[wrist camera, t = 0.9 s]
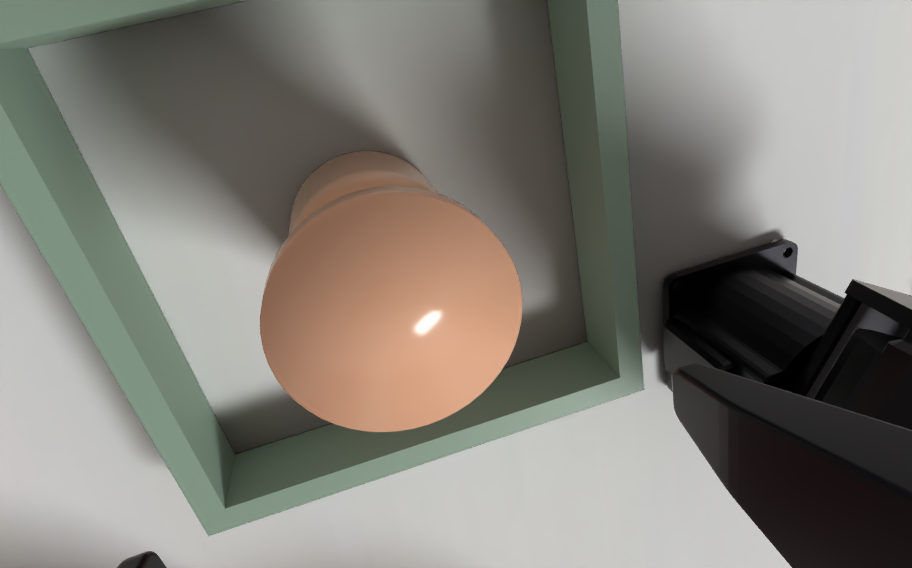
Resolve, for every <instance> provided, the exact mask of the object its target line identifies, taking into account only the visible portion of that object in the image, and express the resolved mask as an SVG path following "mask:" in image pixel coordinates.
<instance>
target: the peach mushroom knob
mask: <svg viewBox="0 0 912 568" xmlns="http://www.w3.org/2000/svg"><path fill="white" fill-rule="evenodd" d="M522 303H523V302H522V292H521V285H520V281H519V277H518V273H517V271H516V268H515V266H514V264H513V261H512V259H511V257H510V256H509V254H508V252H507V250H506V249H505V247H504V246H503V244H502V243H501V242H500V241H499V240H498V238H497V237H496V236H495V235H494V233H493V232H492V231H491V230H490V229H489V228H488V227H487V226H486V225H485V224H484V223H483V222H482V221H481V220H480V219H479V218H478V217H477V216H476V215H475V214H473V213H472V212H471V211H470V210H468V209H467V208H465V207H464V206H462V205H461V204H460V203H458V202H456V201H454V200H452V199H450V198H448V197H446V196H444V195H441V194H438V192H437V191H436V190H435V189H434V188H433V186H432V185H431V184H430V183H429V181H428V180H427V179H426V178H425V177H424V176H423V174H422V173H421V172H419V171H418V170H417V169H416V168H415V167H414V166H412V165H411V164H409V163H408V162H406V161H404V160H402V159H400V158H398V157H396V156H393V155H390V154H387V153H382V152H376V151H357V152H351V153H346V154H343V155H340V156H337V157H335V158H333V159H331V160H329V161H327V162H326V163H324V164H323V165H321V166H320V167H318V168H317V169H316V170H315V171H314V172H313V173H312V174H311V175H310V176H309V177H308V178H307V179H306V180H305V182H304V183H303V185H302V186H301V188H300V189H299V191H298V193H297V196H296V198H295V200H294V204H293V207H292V212H291V219H290V227H289V235H288V237H287V238H286V240H285V241H284V243H283V244H282V246H281V247H280V249H279V251H278V252H277V254H276V256H275V258H274V261H273V263H272V265H271V267H270V270H269V273H268V277H267V280H266V284H265V289H264V294H263V300H262V307H261V314H260V334H261V339H262V345H263V350H264V353H265V356H266V359H267V361H268V364H269V366H270V368H271V370H272V372H273V374H274V376H275V378H276V379H277V380H278V382H279V383H280V384H281V386H282V387H283V389H284V390H285V391H286V392H287V393H288V394H289V395H290V396H291V397H292V398H293V399H294V400H295V401H296V402H297V403H298V404H300V405H301V406H302V407H304V408H305V409H306V410H308V411H309V412H311V413H313V414H314V415H316V416H318V417H320V418H321V419H324V420H326V421H328V422H331V423H333V424H336V425H339V426H342V427H346V428H349V429H355V430H361V431H368V432H394V431H402V430H409V429H414V428H418V427H421V426H425V425H428V424H431V423H434V422H436V421H439V420H441V419H444V418H446V417H448V416H449V415H451V414H453V413H455V412H457V411H459V410H460V409H462V408H463V407H465V406H466V405H468V404H469V403H471V402H472V401H473V400H474V399H476V398H477V397H478V396H479V395H480V394H482V393H483V392H484V390H485V389H486V388H487V387H488V386H489V385H490V384H491V383H492V382H493V381H494V380H495V378H496V377H497V376H498V375H499V373H500V372H501V371H502V369H503V367H504V366H505V364H506V362H507V361H508V359H509V357H510V355H511V353H512V351H513V348H514V346H515V344H516V340H517V337H518V334H519V331H520V325H521V319H522Z"/></svg>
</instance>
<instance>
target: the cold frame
mask: <svg viewBox="0 0 912 568" xmlns="http://www.w3.org/2000/svg"><path fill="white" fill-rule="evenodd" d="M241 1H245V0H0V184H1V186H2V188H3V189H4V191H5V193H6V194H7V196H8V198H9V199H10V201H11V203H12V205H13V206H14V208H15V210H16V211H17V213H18V215H19V216H20V218H21V220H22V221H23V223H24V225H25V227H26V228H27V230H28V232H29V233H30V235H31V237H32V238H33V240H34V242H35V243H36V245H37V247H38V249H39V250H40V252H41V254H42V255H43V257H44V259H45V260H46V262H47V264H48V265H49V267H50V269H51V271H52V272H53V274H54V276H55V277H56V279H57V281H58V282H59V284H60V286H61V287H62V289H63V291H64V293H65V294H66V296H67V298H68V299H69V301H70V303H71V304H72V306H73V308H74V309H75V311H76V313H77V315H78V316H79V318H80V320H81V321H82V323H83V325H84V326H85V328H86V330H87V331H88V333H89V335H90V337H91V338H92V340H93V342H94V343H95V345H96V347H97V348H98V350H99V352H100V353H101V355H102V357H103V359H104V360H105V362H106V364H107V365H108V367H109V369H110V370H111V372H112V374H113V375H114V377H115V379H116V381H117V382H118V384H119V386H120V387H121V389H122V391H123V392H124V394H125V396H126V397H127V399H128V401H129V402H130V404H131V406H132V408H133V409H134V411H135V413H136V414H137V416H138V418H139V419H140V421H141V423H142V424H143V426H144V428H145V430H146V431H147V433H148V435H149V436H150V438H151V440H152V441H153V443H154V445H155V446H156V448H157V450H158V452H159V453H160V455H161V457H162V458H163V460H164V462H165V463H166V465H167V467H168V468H169V470H170V472H171V474H172V475H173V477H174V479H175V480H176V482H177V484H178V485H179V487H180V489H181V490H182V492H183V494H184V496H185V497H186V499H187V501H188V502H189V504H190V506H191V507H192V509H193V511H194V512H195V514H196V516H197V518H198V519H199V521H200V523H201V524H202V526H203V528H204V529H205V531H206V533H207V534H208V536H210V535H213V534H216V533H219V532H222V531H225V530H228V529H231V528H234V527H237V526H240V525H243V524H246V523H249V522H252V521H255V520H258V519H261V518H264V517H267V516H270V515H273V514H276V513H279V512H282V511H285V510H288V509H291V508H294V507H297V506H300V505H303V504H306V503H309V502H311V501H314V500H317V499H320V498H323V497H326V496H329V495H332V494H335V493H338V492H341V491H344V490H347V489H350V488H353V487H356V486H359V485H362V484H365V483H368V482H371V481H374V480H377V479H380V478H383V477H386V476H389V475H392V474H395V473H398V472H401V471H404V470H407V469H410V468H413V467H415V466H418V465H421V464H424V463H427V462H430V461H433V460H436V459H439V458H442V457H445V456H448V455H451V454H454V453H457V452H460V451H463V450H466V449H469V448H472V447H475V446H478V445H481V444H484V443H487V442H490V441H493V440H496V439H499V438H502V437H505V436H508V435H511V434H514V433H517V432H520V431H522V430H525V429H528V428H531V427H534V426H537V425H540V424H543V423H546V422H549V421H552V420H555V419H558V418H561V417H564V416H567V415H570V414H573V413H576V412H579V411H582V410H585V409H588V408H591V407H594V406H597V405H600V404H603V403H606V402H609V401H612V400H615V399H618V398H621V397H624V396H626V395H629V394H632V393H635V392H638V391H641V390H644V383H643V368H642V353H641V338H640V323H639V308H638V293H637V278H636V264H635V249H634V234H633V219H632V204H631V189H630V174H629V159H628V144H627V130H626V115H625V100H624V85H623V70H622V55H621V40H620V25H619V10H618V0H547V4H548V12H549V21H550V29H551V38H552V46H553V55H554V63H555V72H556V80H557V89H558V97H559V106H560V114H561V122H562V131H563V139H564V148H565V156H566V165H567V173H568V182H569V190H570V199H571V207H572V215H573V224H574V232H575V241H576V249H577V258H578V266H579V275H580V283H581V292H582V300H583V309H584V317H585V325H586V334H587V342H585V343H582V344H579V345H576V346H573V347H570V348H567V349H563V350H560V351H557V352H554V353H551V354H548V355H545V356H542V357H538V358H535V359H532V360H529V361H526V362H523V363H520V364H517V365H513V366H510V367H507V368H504V369H502V371H501V372H500V373H499V375H498V376H497V377H496V378H495V380H494V381H493V382H492V383H491V384H490V385H489V386H488V387H487V388H486V389H485V390H484V392H483V393H482V394H480V395H479V396H478V397H477V398H476V399H474V400H473V401H472V402H471V403H469V404H468V405H466V406H465V407H463V408H462V409H460V410H459V411H457V412H455V413H453V414H451V415H449V416H448V417H446V418H444V419H441V420H439V421H436V422H434V423H431V424H428V425H425V426H421V427H418V428H414V429H409V430H402V431H394V432H368V431H361V430H355V429H349V428H346V427H342V426H339V425H336V424H333V423H332V424H329V425H326V426H323V427H320V428H317V429H314V430H310V431H307V432H304V433H301V434H298V435H295V436H292V437H289V438H285V439H282V440H279V441H276V442H273V443H270V444H267V445H264V446H260V447H257V448H254V449H251V450H248V451H245V452H242V453H239V454H234V452H233V450H232V448H231V446H230V444H229V442H228V440H227V438H226V436H225V434H224V432H223V430H222V428H221V426H220V424H219V422H218V420H217V418H216V416H215V415H214V413H213V411H212V409H211V407H210V405H209V403H208V401H207V399H206V397H205V395H204V393H203V391H202V389H201V387H200V385H199V383H198V381H197V379H196V377H195V375H194V373H193V371H192V369H191V368H190V366H189V364H188V362H187V360H186V358H185V356H184V354H183V352H182V350H181V348H180V346H179V344H178V342H177V340H176V338H175V336H174V334H173V332H172V330H171V328H170V326H169V324H168V323H167V321H166V319H165V317H164V315H163V313H162V311H161V309H160V307H159V305H158V303H157V301H156V299H155V297H154V295H153V293H152V291H151V289H150V287H149V285H148V283H147V281H146V279H145V278H144V276H143V274H142V272H141V270H140V268H139V266H138V264H137V262H136V260H135V258H134V256H133V254H132V252H131V250H130V248H129V246H128V244H127V242H126V240H125V238H124V236H123V234H122V232H121V231H120V229H119V227H118V225H117V223H116V221H115V219H114V217H113V215H112V213H111V211H110V209H109V207H108V205H107V203H106V201H105V199H104V197H103V195H102V193H101V191H100V189H99V187H98V186H97V184H96V182H95V180H94V178H93V176H92V174H91V172H90V170H89V168H88V166H87V164H86V162H85V160H84V158H83V156H82V154H81V152H80V150H79V148H78V146H77V144H76V142H75V141H74V139H73V137H72V135H71V133H70V131H69V129H68V127H67V125H66V123H65V121H64V119H63V117H62V115H61V113H60V111H59V109H58V107H57V105H56V103H55V101H54V99H53V97H52V95H51V94H50V92H49V90H48V88H47V86H46V84H45V82H44V80H43V78H42V76H41V74H40V72H39V70H38V68H37V66H36V64H35V62H34V60H33V58H32V56H31V54H30V52H29V50H28V49H27V48H30V47H35V46H40V45H44V44H49V43H53V42H58V41H63V40H67V39H72V38H76V37H81V36H85V35H90V34H95V33H99V32H104V31H108V30H113V29H117V28H122V27H127V26H131V25H136V24H140V23H145V22H149V21H154V20H159V19H163V18H168V17H172V16H177V15H181V14H186V13H191V12H195V11H200V10H204V9H209V8H213V7H218V6H223V5H227V4H232V3H236V2H241Z"/></svg>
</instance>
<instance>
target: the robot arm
mask: <svg viewBox="0 0 912 568" xmlns="http://www.w3.org/2000/svg"><path fill="white" fill-rule="evenodd" d="M785 249H786V251H785ZM784 251H785V252H784ZM783 252H784V253H783ZM797 252H798V248H797V245H796V244H795V243H793V242H791V241H788V240H786V239H784V240H779V241H776V242H773V243H770V244H767V245H763V246H760V247H757V248H754V249H750V250H747V251H744V252H741V253H738V254H734V255H731V256H728V257H725V258H721V259H718V260H715V261H712V262H708V263H705V264H702V265H699V266H696V267H692V268H689V269H686V270H683V271H679V272H676V273H673V274H671V275H669V276H668V277H667V278H666V279H665V281H664V284H663V295H664V319H665V321H664V324H663V347H664V367H665V369H666V370H667V385H668V388H669V389H670V390H671V391H672V392H673V401H674V409H675V412H676V415H677V417H678V418H679V420H680V422H681V423H682V425H683V426H684V428H685V429H686V430H687V432H688V433H689V435H690V436H691V438H692V439H693V441H694V442H695V444H696V445H697V447H698V448H699V450H700V451H701V453H702V454H703V455H704V457H705V458H706V460H707V461H708V463H709V464H710V466H711V467H712V469H713V470H714V472H715V473H716V475H717V476H718V478H719V479H720V480H721V482H722V483H723V485H724V486H725V487H726V489H727V490H728V492H729V493H730V494H731V495H732V497H733V498H734V499H735V500H736V501H737V503H738V504H739V505H740V506H741V508H742V509H743V510H744V511H745V512H746V513H747V515H748V516H749V517H750V518H751V519H752V521H753V522H754V523H755V524H756V525H757V526H758V528H759V529H760V530H761V531H762V532H763V534H764V535H765V536H766V537H767V538H768V540H769V541H770V542H771V543H772V544H773V545H774V547H775V548H776V549H777V550H778V551H779V553H780V554H781V555H782V556H783V557H784V558H785V560H786V561H787V562H788V563H789V564H790V566H791V567H792V568H912V296H910V295H907V294H903V293H900V292H896V291H893V290H889V289H886V288H882V287H878V286H875V285H871V284H868V283H864V282H861V281H857V280H854V279H852V281H851V283H850V284H849V286H848V288H847V289H846V291H845V293H846V294H847V295H846V297H845V299H844V298H842V297H840V296H838V295H836V294H834V293H832V292H830V291H828V290H826V289H824V288H822V287H820V286H818V285H815V284H813V283H811V282H809V281H807V280H805V279H803V278H801V277H799V276H797V275H796V265H797ZM677 282H678V285H677V286H676V287H675V288H673V287H674V285H675V284H676V283H677ZM117 568H166V566H165V565H164V563H163V562H162V561H161V559H160V558H159V556H158V555H157V554H156V553H154V552H152V551H148V552H144V553H141V554H139V555H136V556H133V557H130V558H128V559H126V560H124V561H123V562H122V563H121V564H120V565H119V566H118V567H117Z"/></svg>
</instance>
